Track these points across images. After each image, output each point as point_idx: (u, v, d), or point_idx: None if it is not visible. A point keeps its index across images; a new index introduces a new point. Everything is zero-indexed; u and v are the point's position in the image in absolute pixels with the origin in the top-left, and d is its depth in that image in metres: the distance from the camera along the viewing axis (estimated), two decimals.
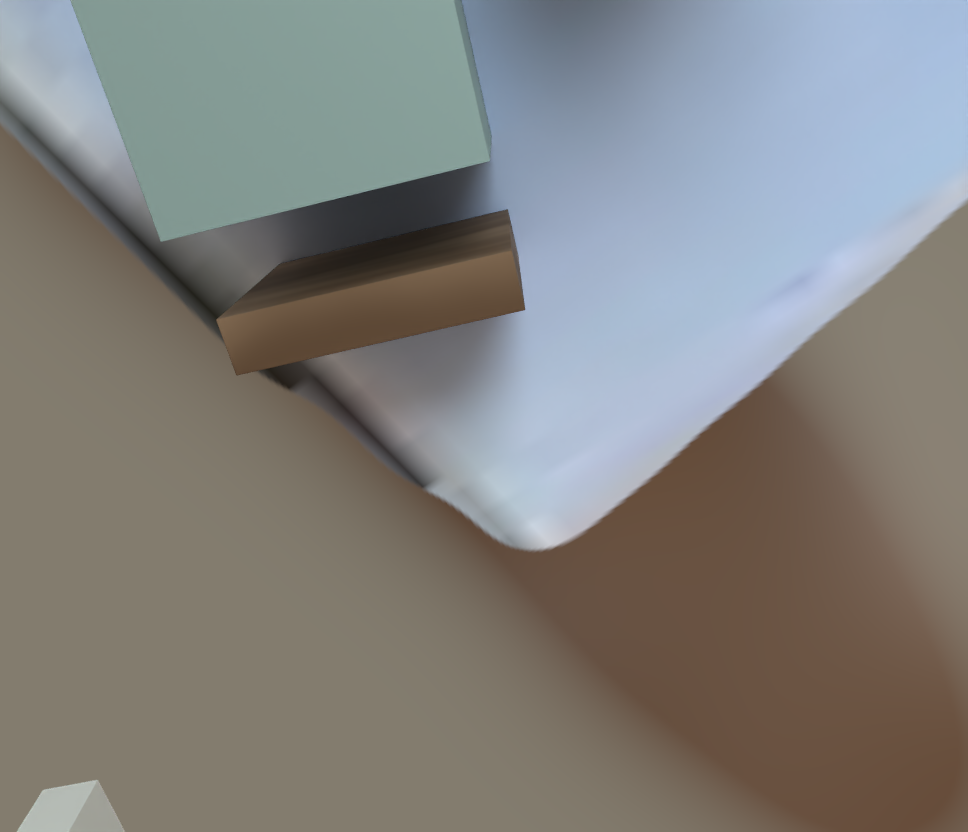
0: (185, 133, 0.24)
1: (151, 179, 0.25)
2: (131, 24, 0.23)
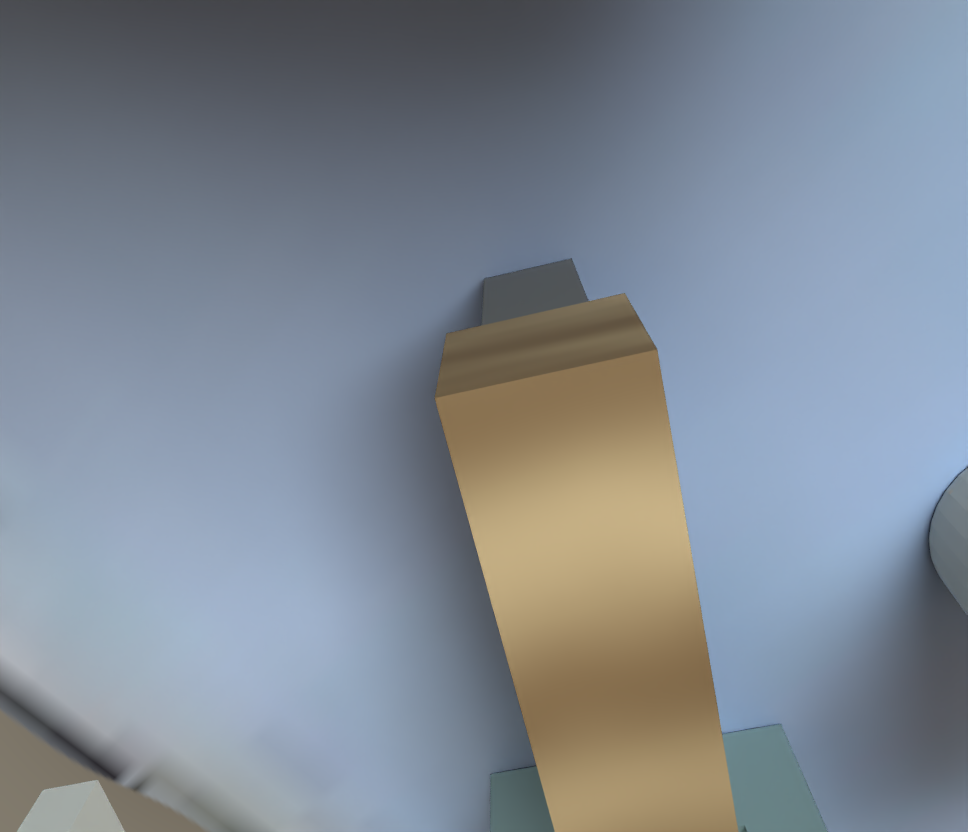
0: None
1: None
2: None
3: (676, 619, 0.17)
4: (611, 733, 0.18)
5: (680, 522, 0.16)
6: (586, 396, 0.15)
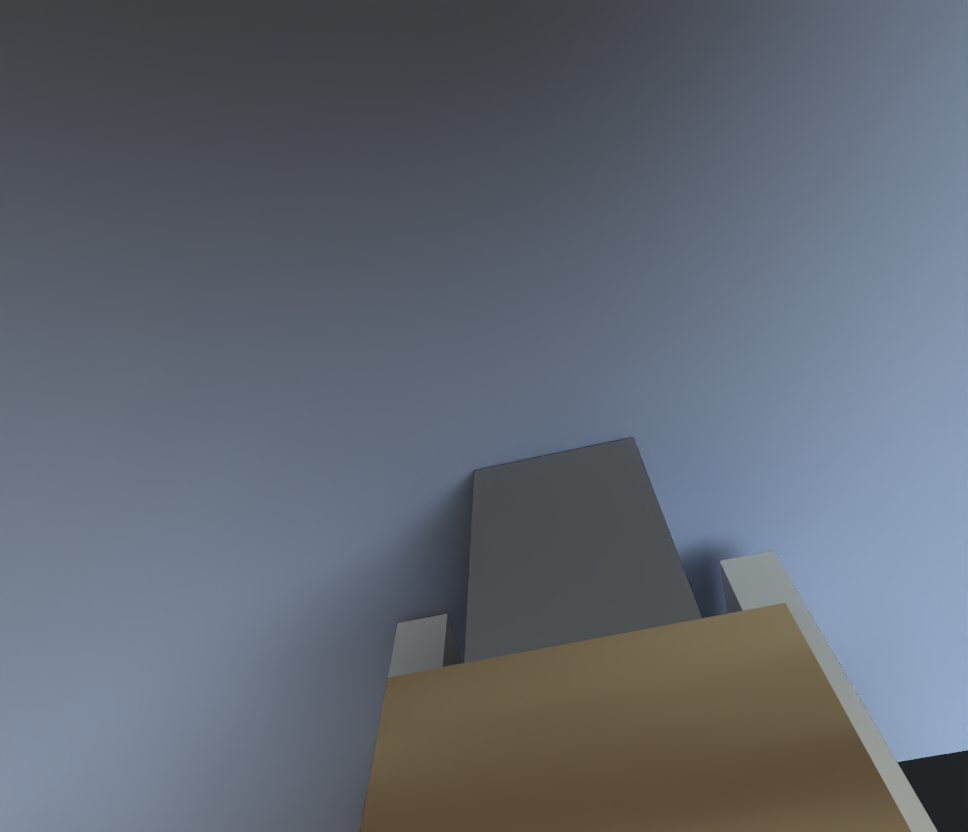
0: None
1: None
2: None
3: None
4: None
5: None
6: None
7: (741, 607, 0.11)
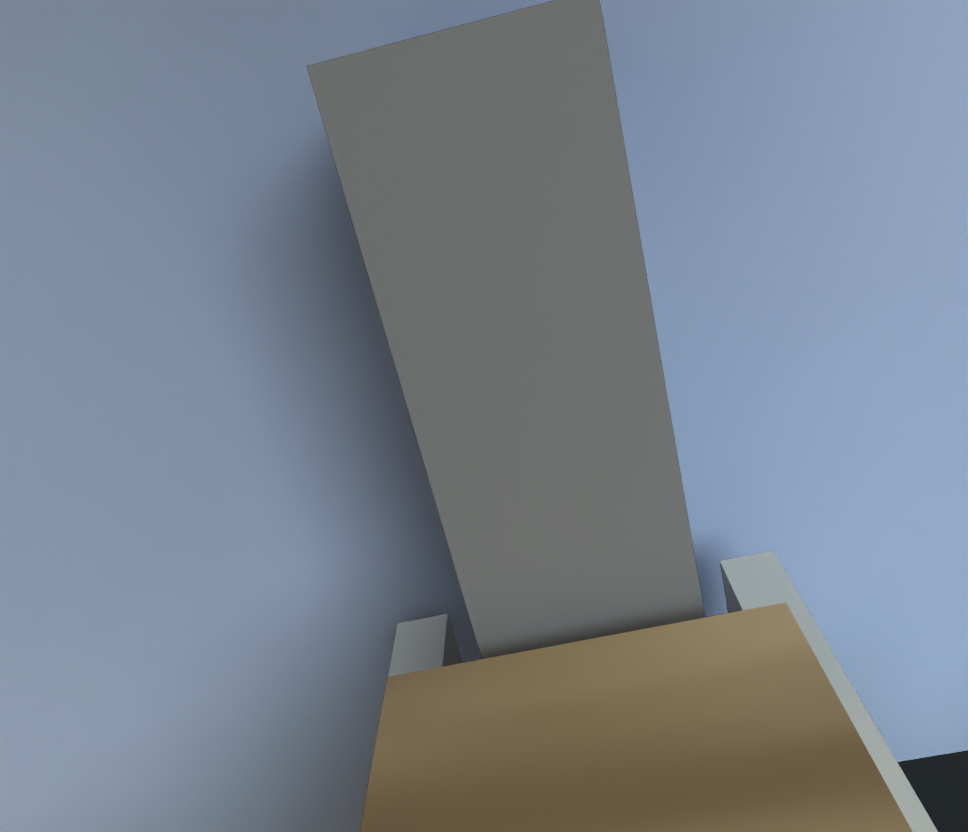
0: None
1: None
2: None
3: None
4: None
5: None
6: None
7: (741, 607, 0.11)
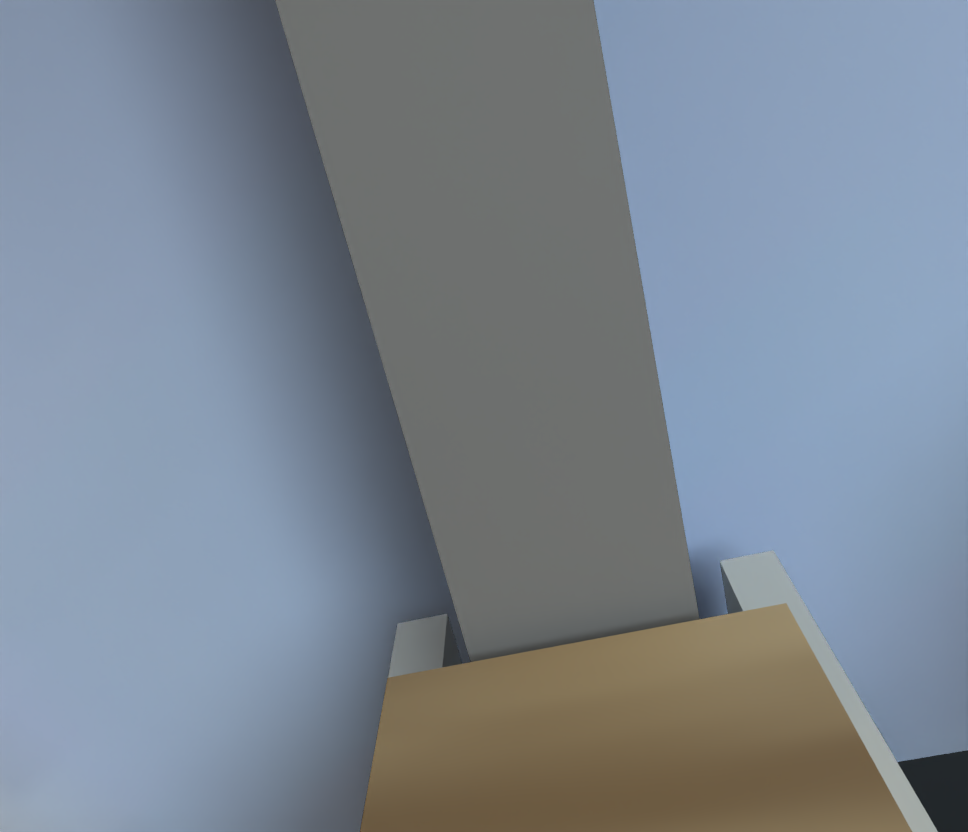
0: None
1: None
2: None
3: None
4: None
5: None
6: None
7: (741, 607, 0.11)
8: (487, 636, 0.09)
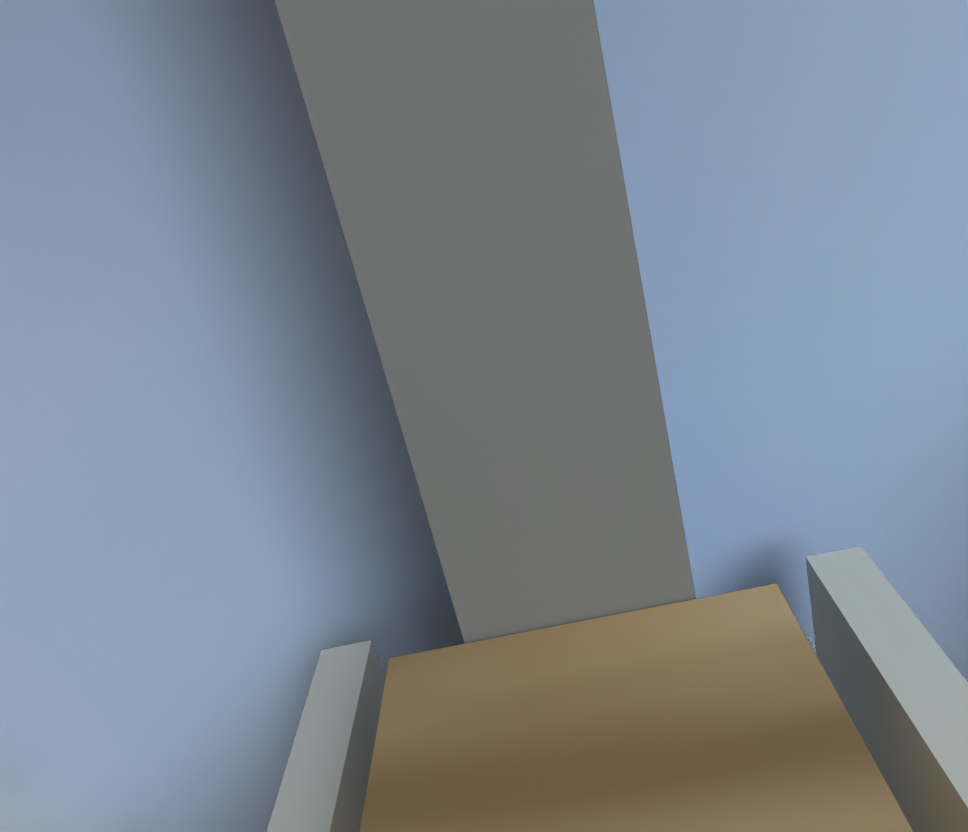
0: None
1: None
2: None
3: None
4: None
5: None
6: None
7: (836, 604, 0.11)
8: (486, 635, 0.09)
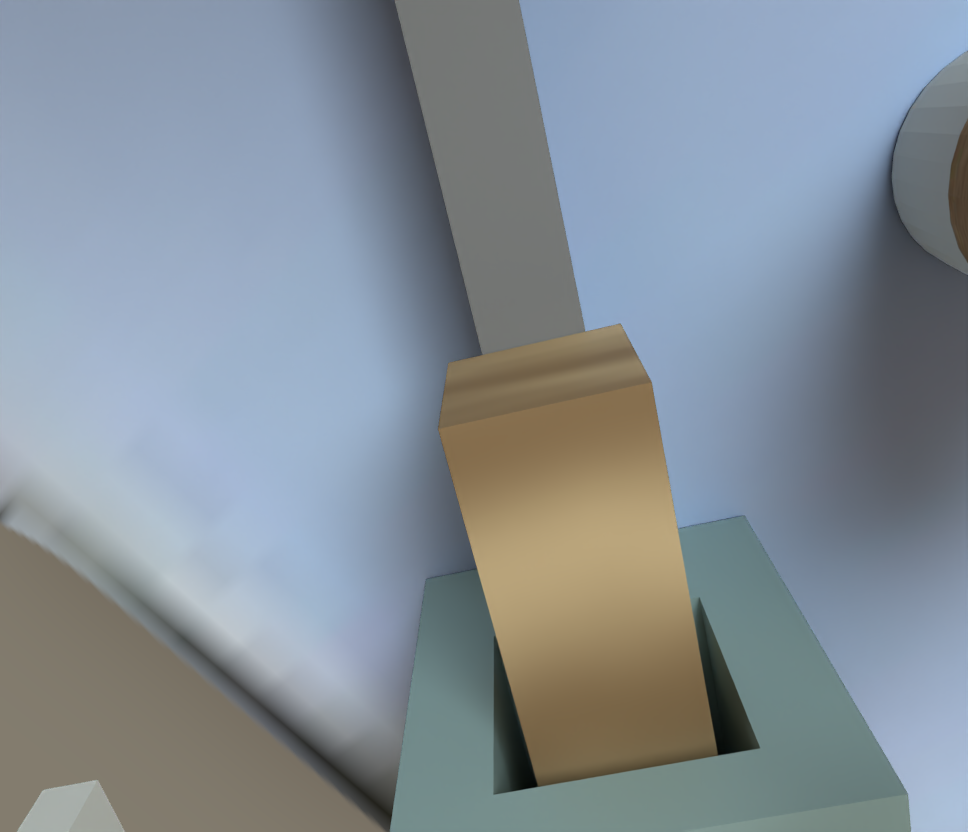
0: None
1: None
2: None
3: (672, 640, 0.18)
4: (609, 751, 0.19)
5: (675, 547, 0.17)
6: (584, 426, 0.16)
7: None
8: (492, 351, 0.20)
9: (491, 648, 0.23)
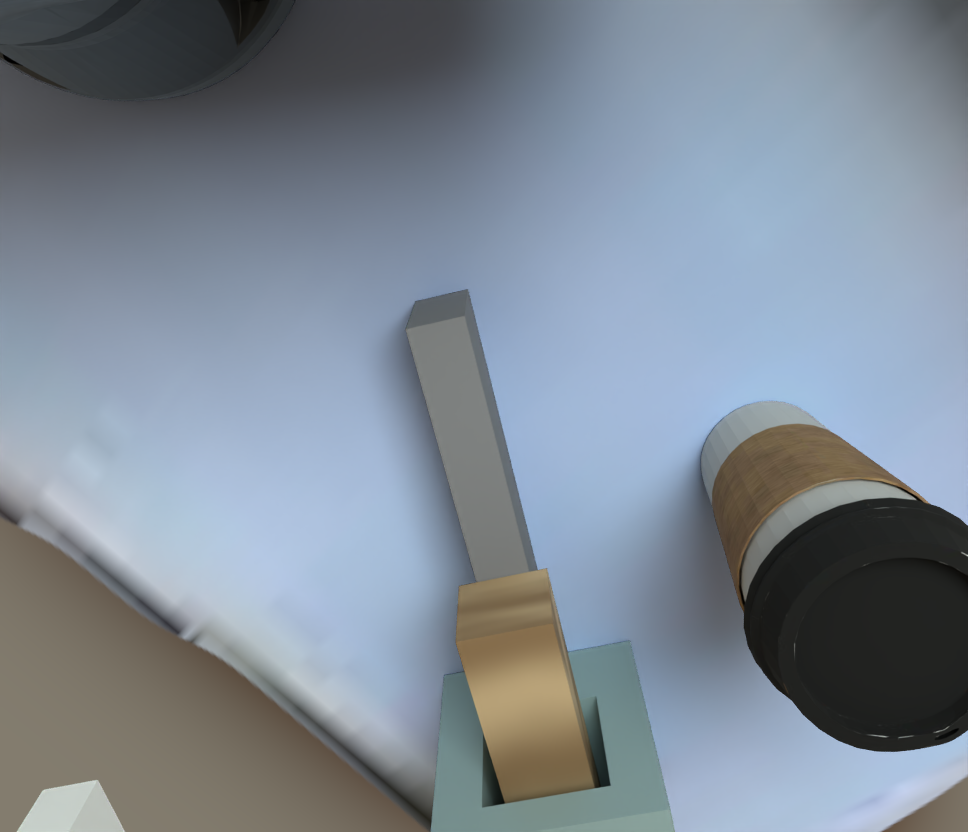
0: None
1: None
2: None
3: (568, 733, 0.36)
4: (540, 785, 0.37)
5: (567, 692, 0.35)
6: (523, 641, 0.34)
7: None
8: (481, 580, 0.38)
9: None
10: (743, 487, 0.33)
